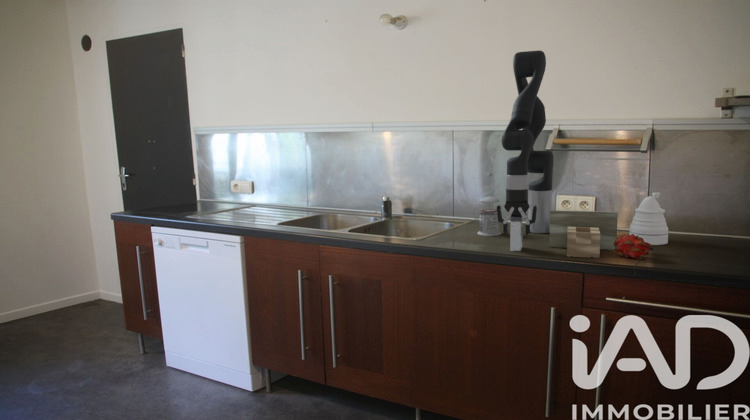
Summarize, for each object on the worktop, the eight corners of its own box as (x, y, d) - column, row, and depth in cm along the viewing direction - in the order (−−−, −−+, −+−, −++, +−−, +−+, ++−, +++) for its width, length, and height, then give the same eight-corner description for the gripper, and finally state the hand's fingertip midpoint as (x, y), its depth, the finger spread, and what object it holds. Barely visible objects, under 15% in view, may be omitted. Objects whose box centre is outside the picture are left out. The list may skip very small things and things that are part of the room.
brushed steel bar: (512, 246, 197) (512, 214, 195) (522, 247, 195) (522, 214, 194) (510, 250, 190) (510, 216, 188) (520, 251, 189) (520, 217, 187)
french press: (506, 234, 220) (506, 172, 217) (481, 237, 216) (482, 174, 212) (492, 230, 229) (492, 171, 226) (468, 233, 225) (468, 172, 222)
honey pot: (663, 238, 204) (665, 190, 202) (671, 245, 192) (674, 194, 190) (626, 237, 208) (627, 190, 205) (632, 244, 196) (634, 194, 193)
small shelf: (549, 246, 196) (550, 210, 194) (615, 248, 189) (617, 211, 187) (547, 255, 182) (548, 217, 180) (619, 258, 174) (621, 218, 172)
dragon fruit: (610, 259, 180) (649, 269, 174) (607, 248, 174) (648, 258, 167) (618, 237, 183) (656, 245, 176) (615, 225, 176) (656, 234, 169)
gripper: (539, 186, 191) (538, 233, 193) (497, 186, 196) (497, 232, 198) (537, 188, 184) (536, 237, 186) (494, 188, 189) (494, 235, 191)
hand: (516, 234), depth 192 cm, fingers open, 6 cm apart
